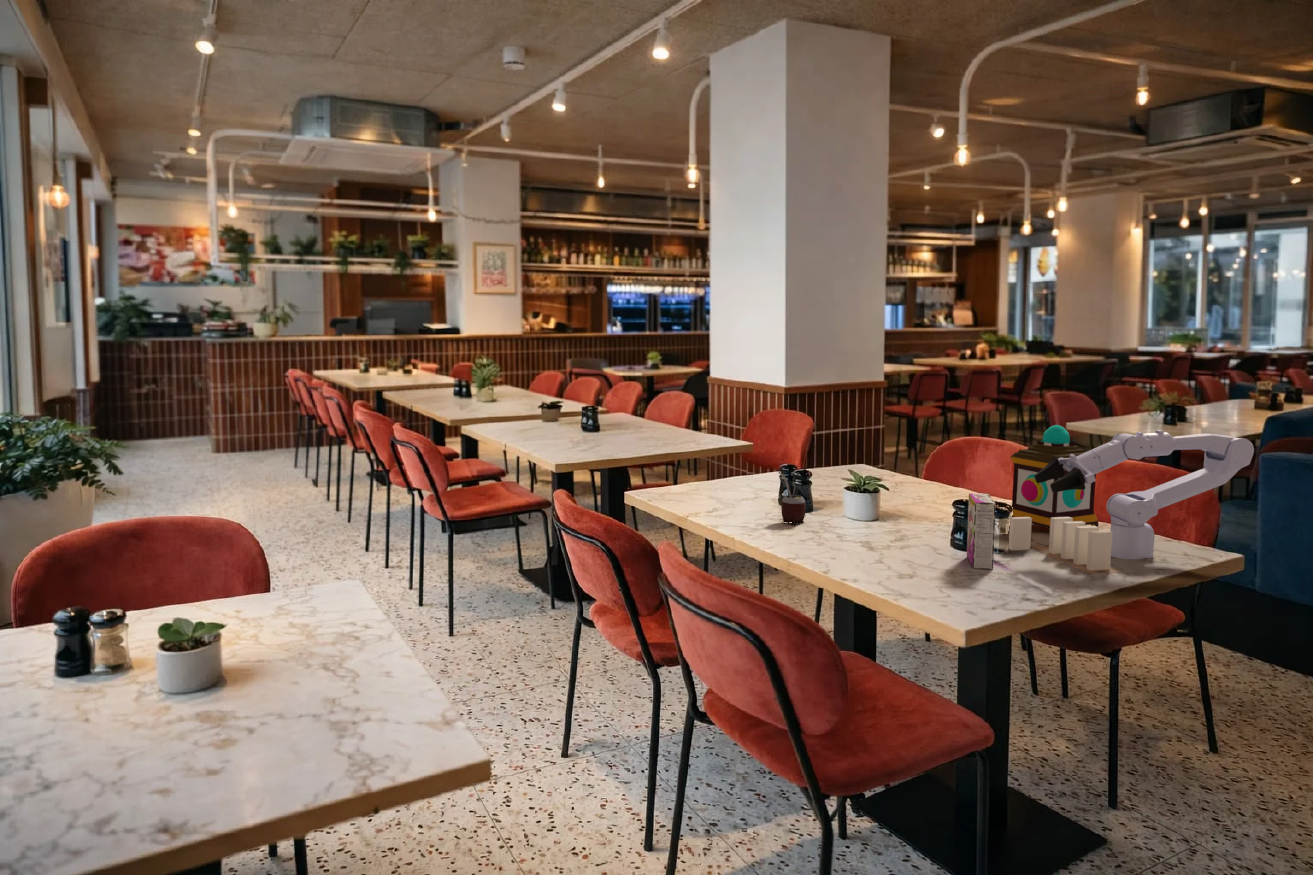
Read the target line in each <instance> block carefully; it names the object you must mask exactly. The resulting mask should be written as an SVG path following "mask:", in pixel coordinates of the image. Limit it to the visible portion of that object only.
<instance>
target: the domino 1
mask: <svg viewBox="0 0 1313 875" xmlns="http://www.w3.org/2000/svg"><path fill="white" fill-rule="evenodd" d="M1032 525H1033V524H1032V518H1030V517H1011V518H1010V527H1009V532H1008V533H1009V534H1008V535H1009V538H1008V549H1009V550H1010V551H1028V550H1029V551H1030V550H1031V548H1030V545H1031V541H1032V540H1031V538H1032Z"/></svg>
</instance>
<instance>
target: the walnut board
mask: <svg viewBox="0 0 1313 875" xmlns="http://www.w3.org/2000/svg"><path fill="white" fill-rule="evenodd" d="M1030 549H1031V550H1034V551H1037V552H1039V553H1041V554H1043V555H1045V556H1048V557H1050V558H1053V559H1055V560H1057V561H1059V562H1061V563H1064V564H1066V565H1067V566H1070V567H1073V568H1075V569H1077V570H1078V571H1081V572H1084V573H1086V574H1088V575H1092V574H1095V575H1096V574H1111V573H1112V574H1113V573H1124V571H1123V570H1121V569H1118V568H1116V567H1114V566H1111V565H1110V570H1092V571H1090V570H1088V569H1086V566H1087V564H1083V565H1077V564H1074V563H1073V559H1063V558H1061V554H1051V553H1049V543H1048V544H1030Z"/></svg>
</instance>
